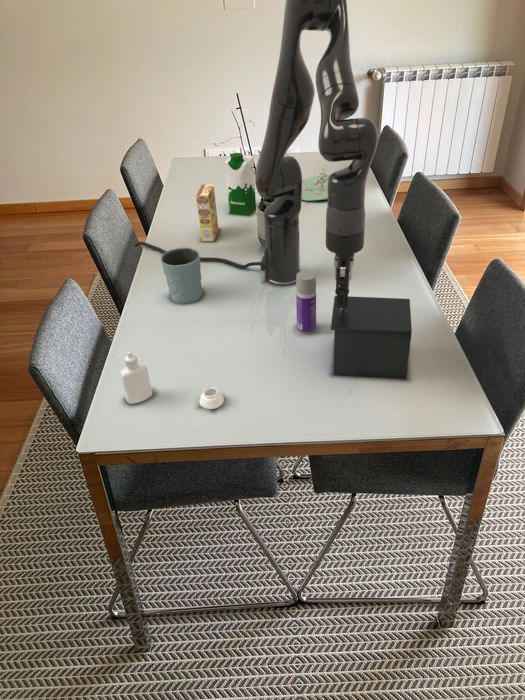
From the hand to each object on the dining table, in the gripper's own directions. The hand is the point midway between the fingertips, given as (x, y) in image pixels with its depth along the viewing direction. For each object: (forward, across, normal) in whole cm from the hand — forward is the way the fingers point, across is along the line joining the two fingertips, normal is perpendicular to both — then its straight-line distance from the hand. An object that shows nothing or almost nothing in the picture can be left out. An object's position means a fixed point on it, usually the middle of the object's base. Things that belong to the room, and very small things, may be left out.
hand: (343, 296), depth 127 cm
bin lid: (+5, 0, +6) cm, 8 cm away
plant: (+16, -101, -13) cm, 103 cm away
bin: (+16, 0, +6) cm, 18 cm away
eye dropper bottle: (+16, +18, -42) cm, 49 cm away
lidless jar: (+16, +18, -26) cm, 36 cm away
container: (+16, -11, -9) cm, 22 cm away
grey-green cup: (+16, -24, -43) cm, 52 cm away
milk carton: (+16, -81, -38) cm, 91 cm away
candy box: (+16, -61, -45) cm, 78 cm away
